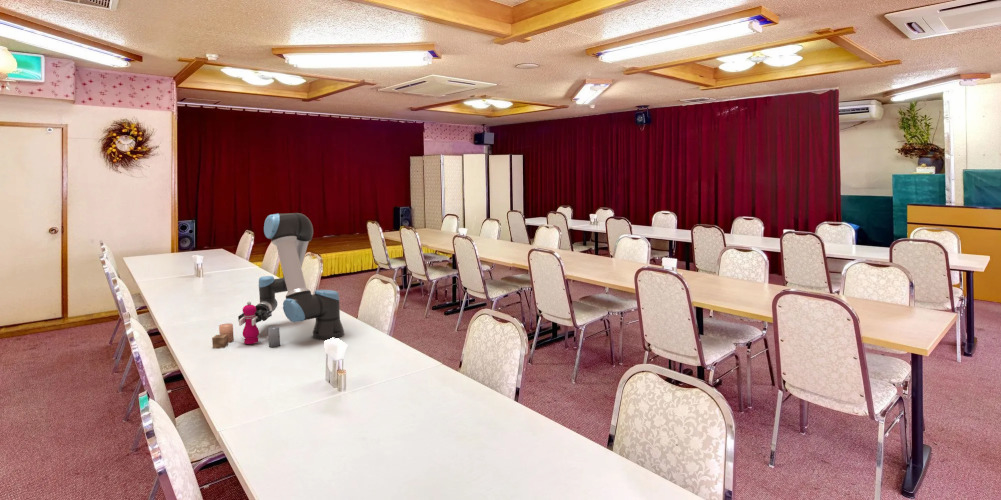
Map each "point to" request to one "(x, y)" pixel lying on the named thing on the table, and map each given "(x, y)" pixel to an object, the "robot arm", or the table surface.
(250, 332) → the pepper mill
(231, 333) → the peach round cylinder
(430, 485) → the table surface
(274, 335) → the charcoal salt shaker
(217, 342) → the walnut block
